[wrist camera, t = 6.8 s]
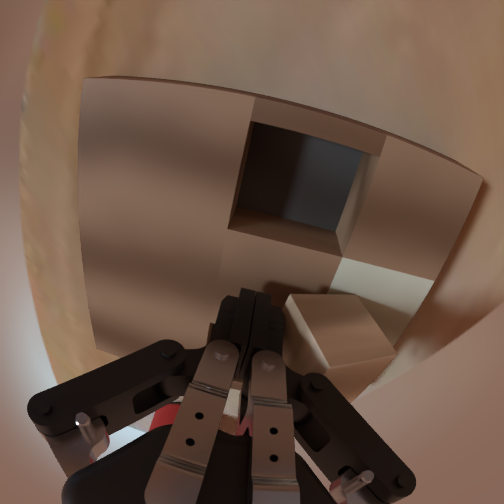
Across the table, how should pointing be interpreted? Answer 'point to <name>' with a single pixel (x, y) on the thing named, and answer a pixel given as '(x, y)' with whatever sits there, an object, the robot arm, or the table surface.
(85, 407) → the robot arm
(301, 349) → the maple block
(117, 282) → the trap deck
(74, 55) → the table surface
